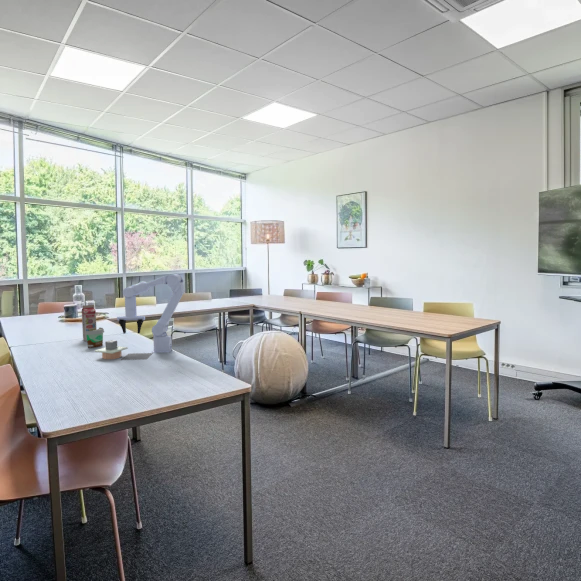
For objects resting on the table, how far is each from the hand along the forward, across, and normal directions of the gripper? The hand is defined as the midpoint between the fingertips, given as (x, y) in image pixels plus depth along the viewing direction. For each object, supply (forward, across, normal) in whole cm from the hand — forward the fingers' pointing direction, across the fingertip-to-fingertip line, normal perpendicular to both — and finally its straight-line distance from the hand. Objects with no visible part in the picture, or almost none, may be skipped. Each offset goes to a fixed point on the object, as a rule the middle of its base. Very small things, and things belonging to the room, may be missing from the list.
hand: (131, 333), depth 227 cm
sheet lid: (+6, +7, +13) cm, 16 cm away
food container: (+11, +24, -16) cm, 31 cm away
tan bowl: (+10, +7, +13) cm, 18 cm away
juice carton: (+10, +36, -34) cm, 50 cm away
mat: (+10, -6, +13) cm, 18 cm away
